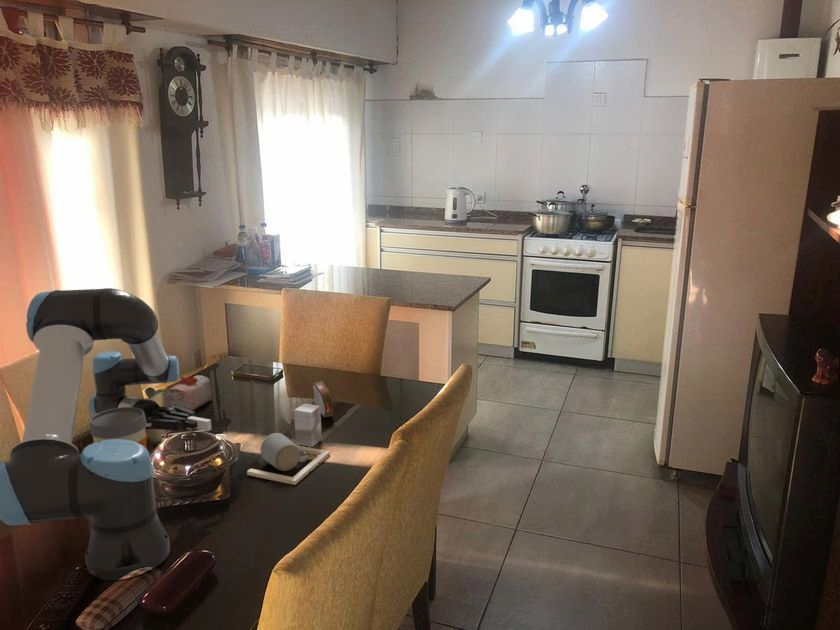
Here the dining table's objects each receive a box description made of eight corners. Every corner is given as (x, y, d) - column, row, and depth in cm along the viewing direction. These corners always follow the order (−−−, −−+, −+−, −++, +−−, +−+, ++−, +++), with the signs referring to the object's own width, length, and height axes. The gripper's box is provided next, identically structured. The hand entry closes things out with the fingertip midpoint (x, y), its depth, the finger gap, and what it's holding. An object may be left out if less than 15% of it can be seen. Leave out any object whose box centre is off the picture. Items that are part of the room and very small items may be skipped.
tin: (334, 420, 196) (333, 393, 194) (323, 422, 195) (322, 395, 193) (322, 402, 209) (321, 377, 207) (312, 404, 208) (311, 378, 206)
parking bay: (295, 485, 159) (294, 481, 159) (247, 474, 164) (247, 471, 163) (330, 454, 174) (329, 451, 174) (285, 446, 179) (285, 442, 179)
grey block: (312, 447, 178) (310, 412, 176) (295, 444, 180) (294, 410, 178) (321, 440, 183) (320, 406, 180) (305, 437, 185) (304, 403, 182)
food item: (187, 417, 198) (184, 386, 196) (165, 414, 201) (162, 383, 198) (215, 401, 211) (212, 371, 208) (193, 398, 213) (191, 368, 211)
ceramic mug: (276, 476, 163) (275, 447, 161) (260, 464, 169) (259, 436, 167) (313, 464, 170) (313, 436, 168) (297, 453, 176) (296, 425, 174)
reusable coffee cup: (91, 489, 157) (83, 430, 153) (101, 465, 169) (93, 409, 165) (148, 482, 160) (142, 424, 156) (154, 459, 172) (148, 404, 168)
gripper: (158, 416, 191) (226, 429, 183) (122, 434, 180) (193, 448, 171) (155, 391, 189) (224, 403, 181) (119, 408, 178) (191, 421, 169)
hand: (209, 425), depth 176 cm, fingers closed
